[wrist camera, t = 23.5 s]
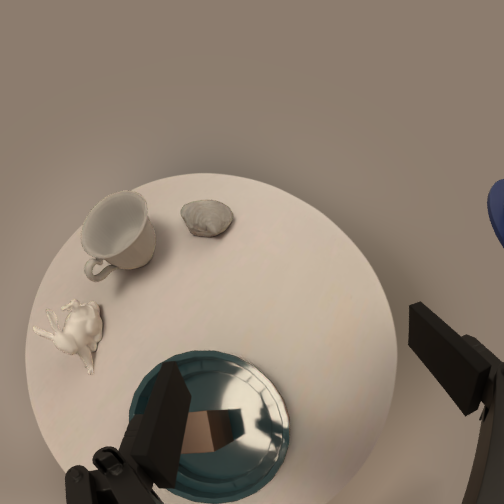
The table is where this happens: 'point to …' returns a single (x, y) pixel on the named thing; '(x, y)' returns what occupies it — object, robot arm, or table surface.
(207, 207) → the pebble
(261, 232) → the table surface
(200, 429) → the walnut block
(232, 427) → the bowl
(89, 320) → the rabbit figurine
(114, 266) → the teacup
